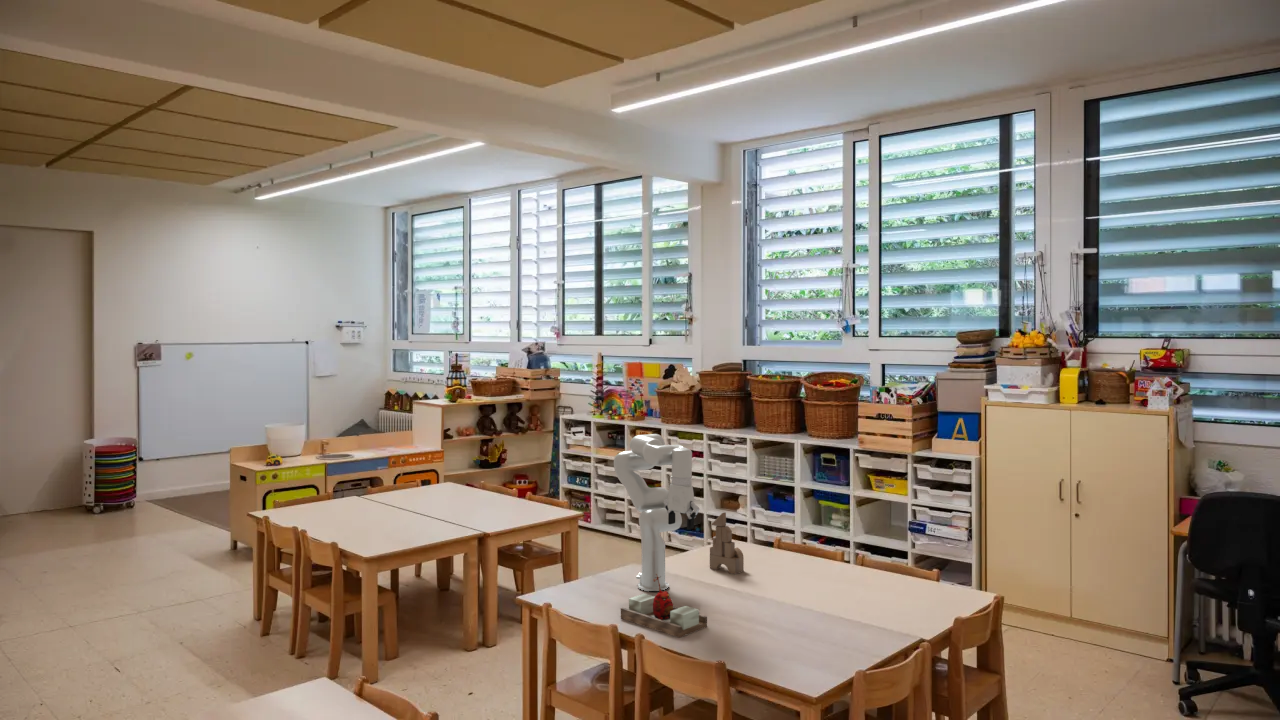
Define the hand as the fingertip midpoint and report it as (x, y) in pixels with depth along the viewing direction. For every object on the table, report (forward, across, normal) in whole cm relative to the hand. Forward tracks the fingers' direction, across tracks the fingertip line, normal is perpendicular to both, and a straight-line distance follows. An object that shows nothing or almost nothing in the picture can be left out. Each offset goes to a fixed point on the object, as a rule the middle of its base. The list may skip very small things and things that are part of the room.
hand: (681, 526), depth 305 cm
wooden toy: (+30, -17, +46) cm, 58 cm away
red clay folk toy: (+27, +11, -20) cm, 35 cm away
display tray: (+29, +11, -20) cm, 37 cm away
